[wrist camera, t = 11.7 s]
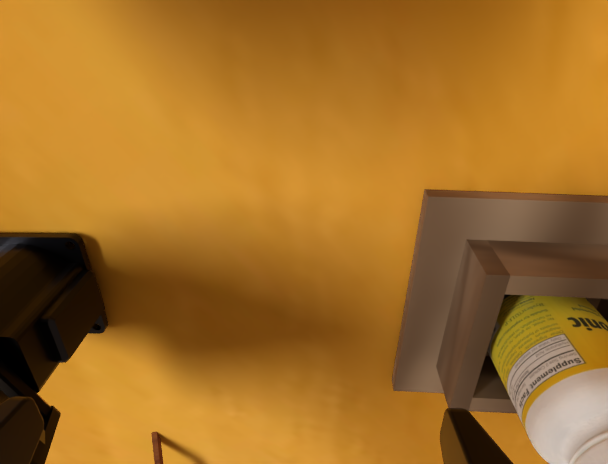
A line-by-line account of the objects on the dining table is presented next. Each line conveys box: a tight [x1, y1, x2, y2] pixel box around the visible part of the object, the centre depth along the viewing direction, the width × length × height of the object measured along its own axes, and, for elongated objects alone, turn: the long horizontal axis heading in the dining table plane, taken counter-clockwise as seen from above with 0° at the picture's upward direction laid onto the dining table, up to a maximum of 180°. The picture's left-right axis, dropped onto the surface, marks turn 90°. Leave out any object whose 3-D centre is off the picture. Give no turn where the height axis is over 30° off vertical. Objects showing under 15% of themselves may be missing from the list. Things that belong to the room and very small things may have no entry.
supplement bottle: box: [487, 295, 608, 464], centre depth 19 cm, size 5×5×10 cm
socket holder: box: [392, 190, 608, 413], centre depth 22 cm, size 13×13×4 cm
